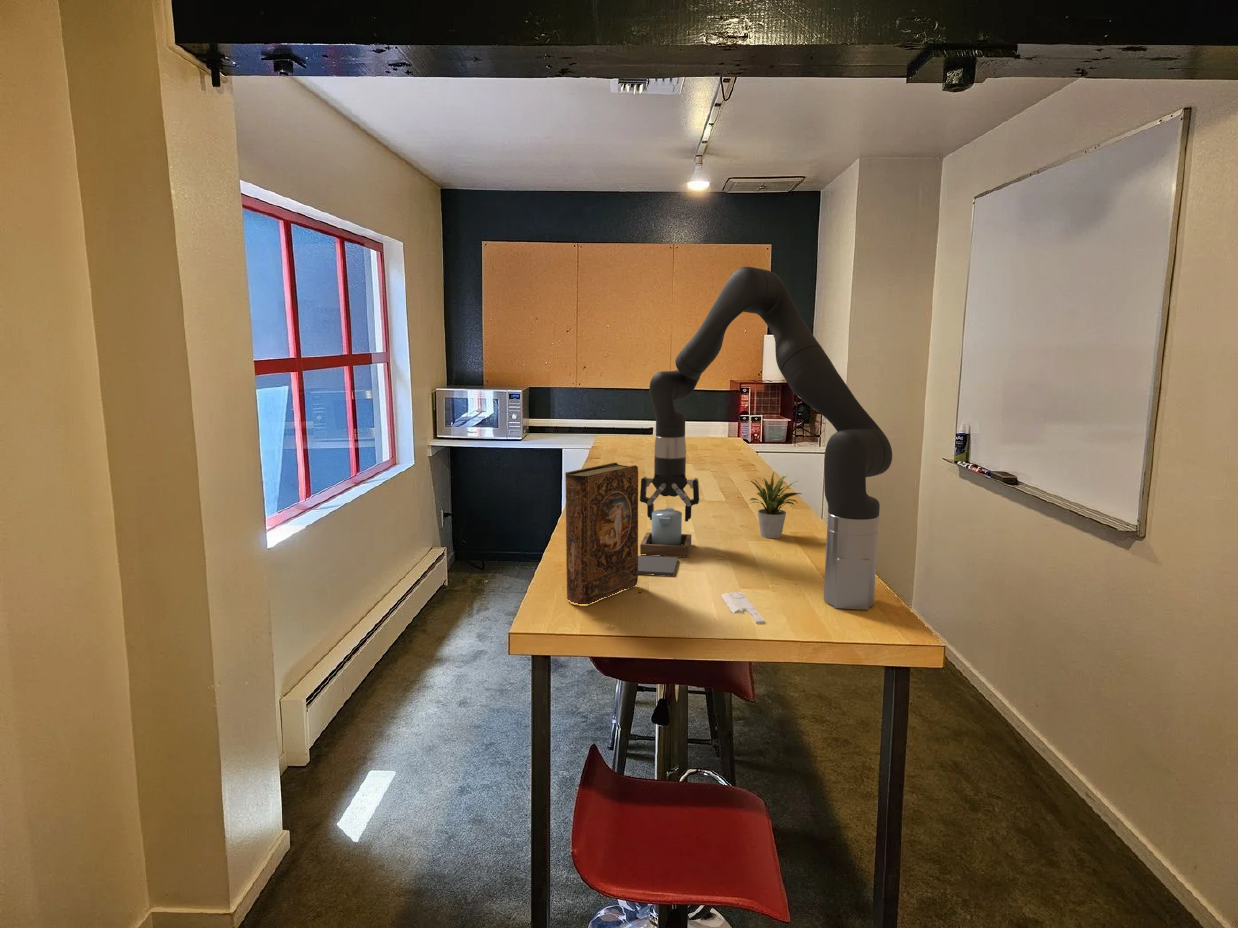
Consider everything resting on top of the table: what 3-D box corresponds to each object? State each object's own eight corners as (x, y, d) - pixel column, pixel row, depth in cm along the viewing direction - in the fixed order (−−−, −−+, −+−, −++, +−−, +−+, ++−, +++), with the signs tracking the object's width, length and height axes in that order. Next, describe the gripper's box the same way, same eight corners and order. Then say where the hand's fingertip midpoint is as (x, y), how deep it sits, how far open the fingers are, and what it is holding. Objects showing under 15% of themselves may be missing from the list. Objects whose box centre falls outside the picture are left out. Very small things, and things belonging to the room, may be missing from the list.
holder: (687, 557, 173) (688, 546, 172) (640, 555, 174) (640, 544, 174) (691, 544, 183) (691, 534, 183) (646, 542, 185) (646, 532, 185)
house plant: (753, 545, 182) (755, 479, 179) (730, 531, 195) (731, 469, 192) (806, 541, 186) (809, 476, 183) (780, 527, 199) (782, 466, 196)
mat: (673, 576, 159) (673, 572, 159) (622, 573, 161) (622, 569, 161) (678, 560, 170) (678, 557, 170) (629, 558, 172) (629, 555, 172)
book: (583, 608, 141) (582, 476, 137) (562, 601, 144) (560, 473, 140) (638, 585, 153) (638, 464, 149) (617, 580, 157) (617, 461, 153)
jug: (679, 556, 174) (679, 518, 172) (649, 554, 175) (649, 517, 173) (683, 541, 186) (684, 505, 184) (655, 540, 187) (656, 504, 186)
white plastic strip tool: (736, 626, 133) (737, 620, 133) (717, 597, 148) (718, 592, 148) (765, 625, 134) (765, 619, 134) (743, 596, 148) (743, 591, 148)
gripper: (638, 456, 179) (638, 522, 181) (698, 457, 176) (697, 525, 179) (642, 451, 186) (642, 515, 189) (700, 452, 184) (699, 517, 186)
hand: (669, 520), depth 184 cm, fingers open, 8 cm apart
